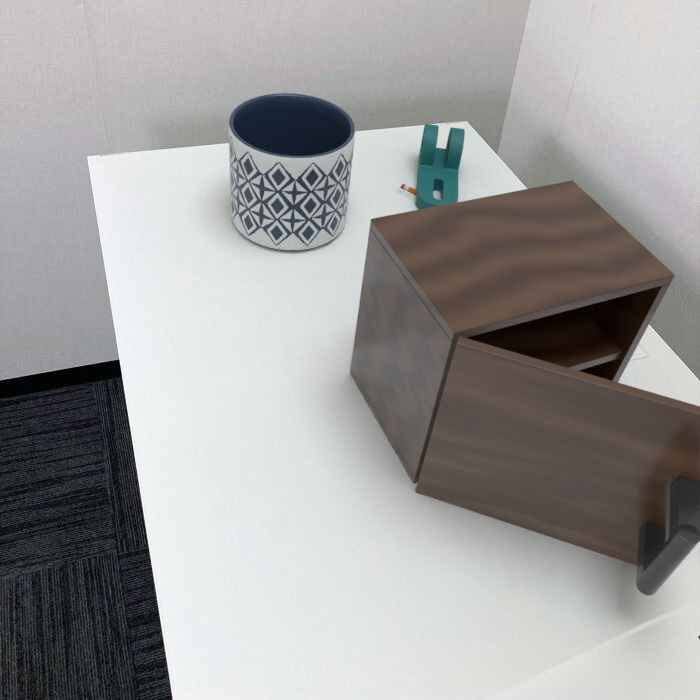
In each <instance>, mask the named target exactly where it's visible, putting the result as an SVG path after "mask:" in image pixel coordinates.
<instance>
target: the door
mask: <svg viewBox="0 0 700 700" xmlns="http://www.w3.org/2000/svg"><path fill="white" fill-rule="evenodd" d="M415 493H417V494H420V495H423V496H427V497H429V498H432V499H436V500H439V501H442V502H445V503H448V504H449V505H454V506H456V507H460V508H463V509H466V510H469V511H471V512H474V513H478V514H481V515H483V516H486V517H490V518H493V519H496V520H499V521H502V522H505V523H507V524H511V525H514V526H517V527H520V528H523V529H527V530H529V531H532V532H536V533H539V534H542V535H545V536H546V537H550V538H554V539H557V540H560V541H563V542H566V543H569V544H572V545H576V546H577V547H581V548H584V549H587V550H590V551H593V552H595V553H596V552H597V553H600V554H603V555H605V556H608V557H612V558H615V559H617V560H620V561H623V562H626V563H629V564H632V565H635V566H636V570H635V571H636V573H635V575H636V576H635V586H636V588H637V590H638V592H640V593H641V594H642V595H644V596H649V597H651V596H654V595H655V594H656V593H657V592H658V591H659V590H660V589H661V587H663V585H664V584H665V583H666V582H667V580H668V579H669V578H670V577H671V576H672V575H673V574H674V572H675V571H676V570H677V569H678V567H679V566H680V565H681V564H682V563H683V561H684V560H685V559H686V558H687V557H688V555H689V554H690V553H691V552H692V551H693V550H694V548H695V547H696V546H697V545H698V544H699V543H700V405H696V404H692V403H689V402H686V401H683V400H680V399H676V398H672V397H669V396H665V395H663V394H659V393H656V392H651V391H649V390H646V389H641V388H639V387H635V386H631V385H628V384H624V383H621V382H619V381H618V382H614V381H611V380H608V379H604V378H601V377H597V376H594V375H591V374H587V373H584V372H580V371H577V370H573V369H570V368H567V367H563V366H560V365H556V364H553V363H550V362H546V361H543V360H539V359H536V358H532V357H529V356H526V355H522V354H519V353H515V352H512V351H508V350H505V349H502V348H498V347H495V346H491V345H488V344H485V343H481V342H478V341H474V340H471V339H467V338H464V337H461V336H459V338H458V341H457V345H456V348H455V352H454V356H453V359H452V363H451V366H450V370H449V373H448V377H447V381H446V384H445V388H444V391H443V395H442V398H441V402H440V406H439V409H438V413H437V416H436V420H435V423H434V427H433V430H432V434H431V438H430V441H429V445H428V448H427V452H426V455H425V459H424V463H423V466H422V470H421V473H420V477H419V480H418V482H417V483H416V487H415Z"/></svg>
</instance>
